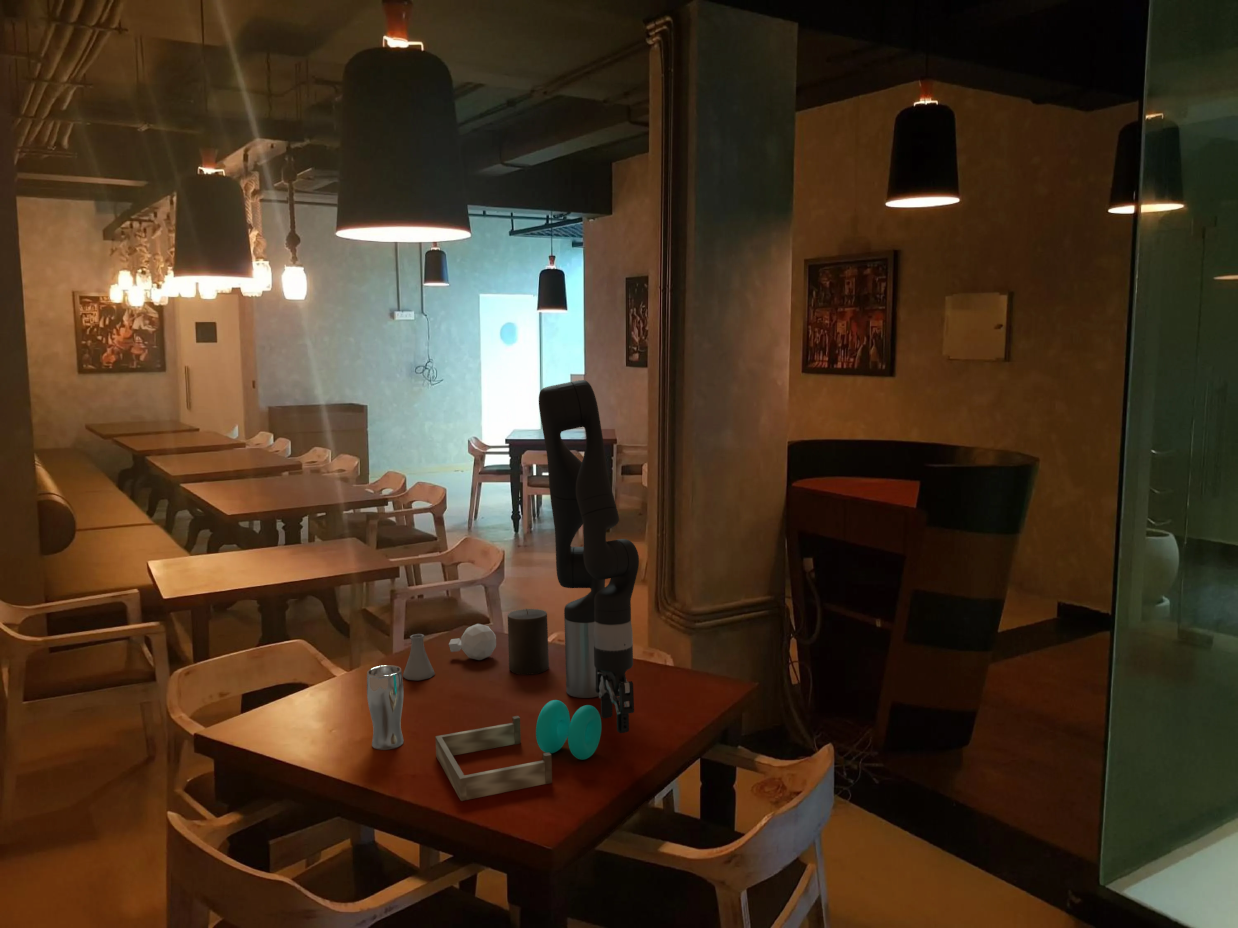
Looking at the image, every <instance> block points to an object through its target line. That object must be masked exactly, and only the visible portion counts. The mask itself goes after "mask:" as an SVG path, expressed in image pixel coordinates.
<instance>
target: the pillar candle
mask: <svg viewBox="0 0 1238 928" xmlns="http://www.w3.org/2000/svg"><path fill="white" fill-rule="evenodd" d="M548 633H549V632H548V612H547V611H546V610H543V609H538V608H536V609H535V608H525V609H524V608H523V609H517V610H512V611H510V612H509V613H508V614H507V638H508V643H507V644H508V645H507V648H508V669H509V671H511V673H514V674H517V675H539V674H542V673H543V672H546V671H547V670H549V668H550V662H549V661H550V659H549V635H548Z"/></svg>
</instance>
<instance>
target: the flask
mask: <svg viewBox="0 0 1238 928" xmlns="http://www.w3.org/2000/svg"><path fill="white" fill-rule="evenodd" d="M424 638H425V635H424V634H422V633H415V634H412V635H409V639H410V640H411V646H410V653H409V656H408V659H407V662H406V666H405V668H404V670H403V672H402V678H404V679H406V680H407V681H408V680H409V681H424V680H427V679H431V678H432V677H434V676H435V675H436V672H435V671H434V670H435V669H434V668H433V666H432V664H431V662H430V659H429V657H428V654H427V652H426V648H425V645H424Z"/></svg>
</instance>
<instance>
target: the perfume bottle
mask: <svg viewBox="0 0 1238 928" xmlns="http://www.w3.org/2000/svg"><path fill="white" fill-rule="evenodd" d="M448 646H449V649H450V652H451V653H455V652H460V651H461V650H462V651H463V653H464V654H465V655H466V656H467V657H468V658H469V659H473V660H477V661H482V660H484V659H486V658H489V657H490V656H491V655H492V654H493V652H494V650H495V649H496V647H497V635H496V634H495V632H494V631H493V630H492V629H491V628H490V626H489V625H484V624H481V623H476V624H473V625H471V626H469V627H467V628H466V629H465V631H464V632H463V634H462V635H461V637H459V638H451V639H450V641H449V643H448Z"/></svg>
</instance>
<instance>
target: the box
mask: <svg viewBox="0 0 1238 928" xmlns="http://www.w3.org/2000/svg"><path fill="white" fill-rule="evenodd" d="M511 717H512V722H509V723H504V724H497V725H493V726H487V727H481V728H476V729H475V728H473V729H469V730H464V731H463V730H462V731H459V732H458V731H457V732H452V733H447V734H441V735H436V736H435V756H436V758H437V761H438V762H439V764H440V765H441V767H442V770H443V771H444V773H445V775H446V777H447V778H448V779H447V780H449V782H450V784H451V786H452V787H453V789H454V791H455V793H456V795H457V797H458V798H459V800H460V801H461V802H463V801H468V800H472V799H478V798H482V797H483V798H484V797H487V796H493V795H498V794H502V793H508V792H511V791H512V792H513V791H518V790H521V789H527V788H532V787H537V786H541V785H547V784H552V783H553V771H552V770H553V769H552V768H553V764H552V753H549V752H548V753H545V752H543V753H542V760H538V761H532V762H527V763H522V764H516V765H511V766H506V767H502V768H501V767H500V768H496V769H491V770H485V771H480V772H476V773H471V774H470V773H469V774H465V773H464V772H463V771H462V769H461V767H460V765H459V764H458V762H457V761H456V759H455V757H454V756H458V755H464V754H469V753H474V752H479V751H485V750H486V751H487V750H490V749H495V748H501V747H507V746H512V745H519V744H521V742H522V738H521V717H520V716H519V715H514V716H511Z"/></svg>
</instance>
